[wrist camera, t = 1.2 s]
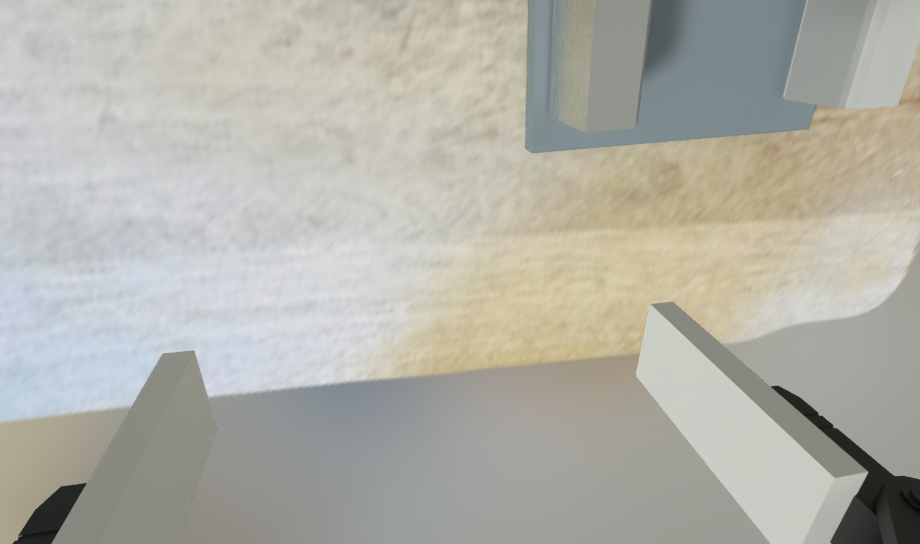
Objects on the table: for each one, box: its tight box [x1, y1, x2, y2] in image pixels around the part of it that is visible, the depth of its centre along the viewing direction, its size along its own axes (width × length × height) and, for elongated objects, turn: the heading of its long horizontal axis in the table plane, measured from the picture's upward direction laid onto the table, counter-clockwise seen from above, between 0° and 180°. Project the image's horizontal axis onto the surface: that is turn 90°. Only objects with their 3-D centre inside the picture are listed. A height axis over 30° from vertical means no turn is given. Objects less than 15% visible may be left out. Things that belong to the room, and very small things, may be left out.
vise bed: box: [525, 0, 920, 153], centre depth 31 cm, size 12×22×8 cm, turn 92°
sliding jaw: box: [549, 0, 653, 132], centre depth 29 cm, size 7×4×6 cm, turn 2°
